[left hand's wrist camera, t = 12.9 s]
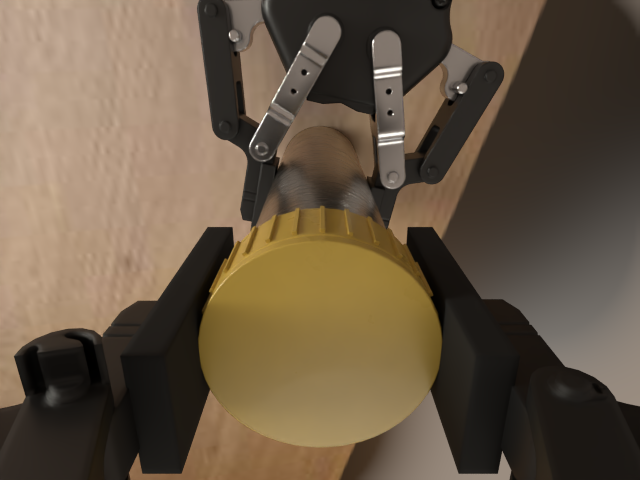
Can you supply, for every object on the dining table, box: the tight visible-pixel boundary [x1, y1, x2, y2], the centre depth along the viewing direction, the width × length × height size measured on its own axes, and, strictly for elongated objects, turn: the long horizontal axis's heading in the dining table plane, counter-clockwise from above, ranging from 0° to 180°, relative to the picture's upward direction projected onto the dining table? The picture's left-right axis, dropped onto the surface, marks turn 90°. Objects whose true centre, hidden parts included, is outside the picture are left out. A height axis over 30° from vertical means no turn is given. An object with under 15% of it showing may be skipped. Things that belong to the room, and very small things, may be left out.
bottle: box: [256, 126, 386, 229], centre depth 20 cm, size 5×5×20 cm
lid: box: [198, 206, 442, 448], centre depth 11 cm, size 6×6×2 cm
